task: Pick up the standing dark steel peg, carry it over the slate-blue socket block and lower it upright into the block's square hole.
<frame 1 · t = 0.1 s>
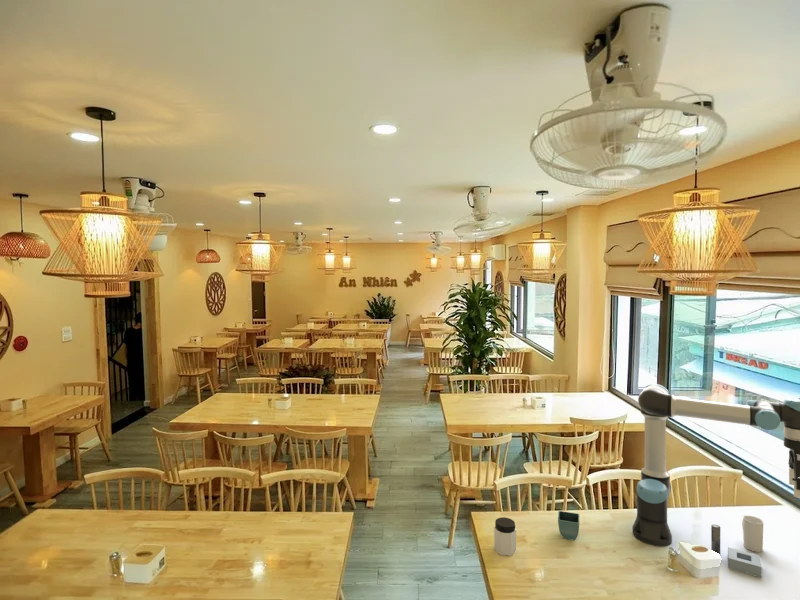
hand: (796, 491, 176), 28 cm above the table, fingers open, 13 cm apart
socket block: (744, 566, 173), on the table
jar: (505, 550, 185), on the table
beige oval cylinder: (750, 546, 187), on the table
peg: (715, 555, 180), on the table
flower pot: (568, 537, 195), on the table
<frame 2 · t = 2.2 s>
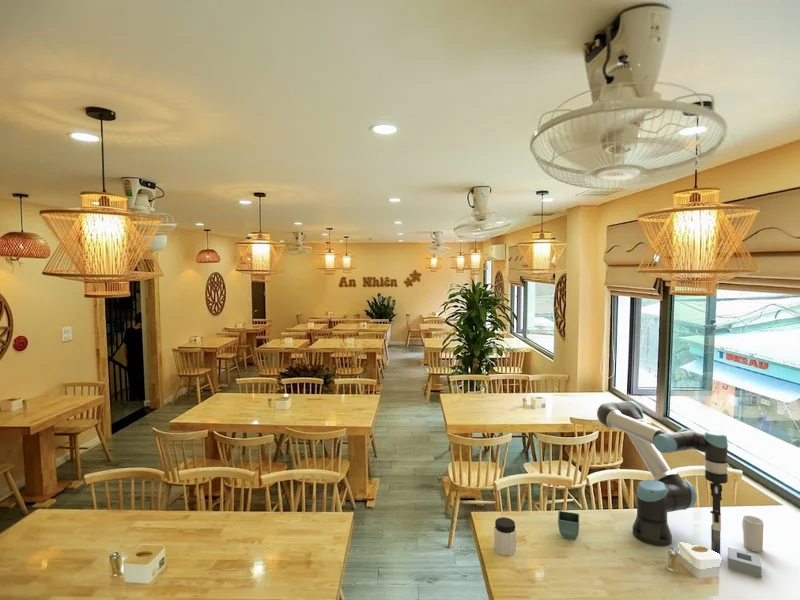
hand: (716, 522, 180), 14 cm above the table, fingers open, 13 cm apart
nothing on the table moved.
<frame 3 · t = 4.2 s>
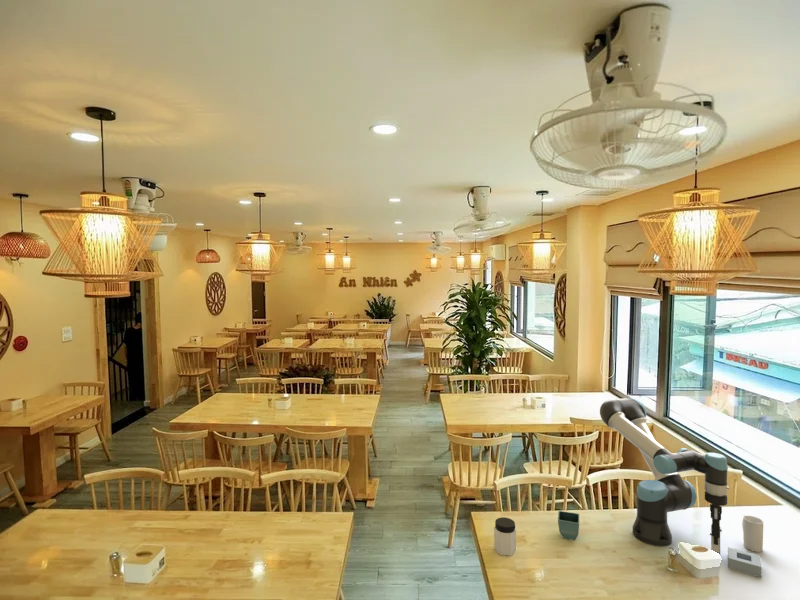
hand: (715, 549, 180), 3 cm above the table, fingers closed on peg, 3 cm apart
peg: (715, 555, 180), on the table, touching gripper
everything else where it was.
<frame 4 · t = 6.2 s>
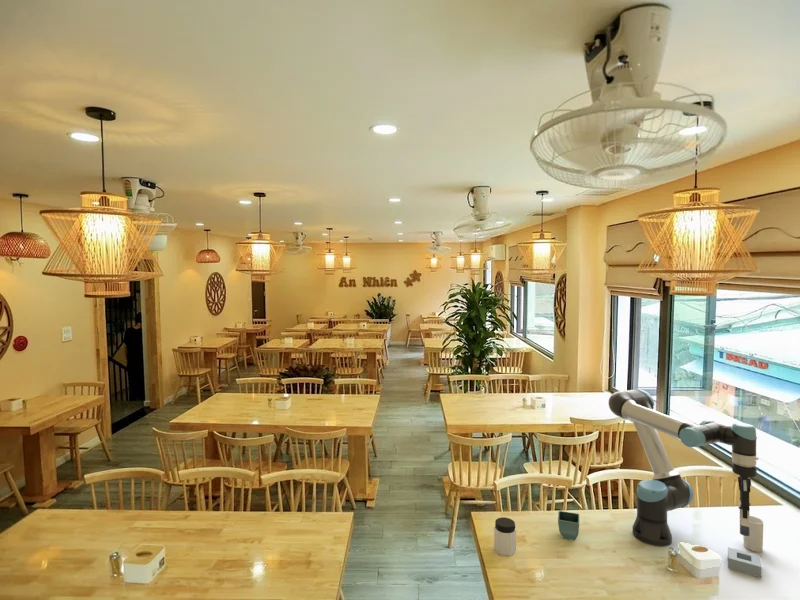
hand: (744, 523, 172), 17 cm above the table, fingers closed on peg, 3 cm apart
peg: (744, 534, 172), point 13 cm above the table, touching gripper
everything else where it was.
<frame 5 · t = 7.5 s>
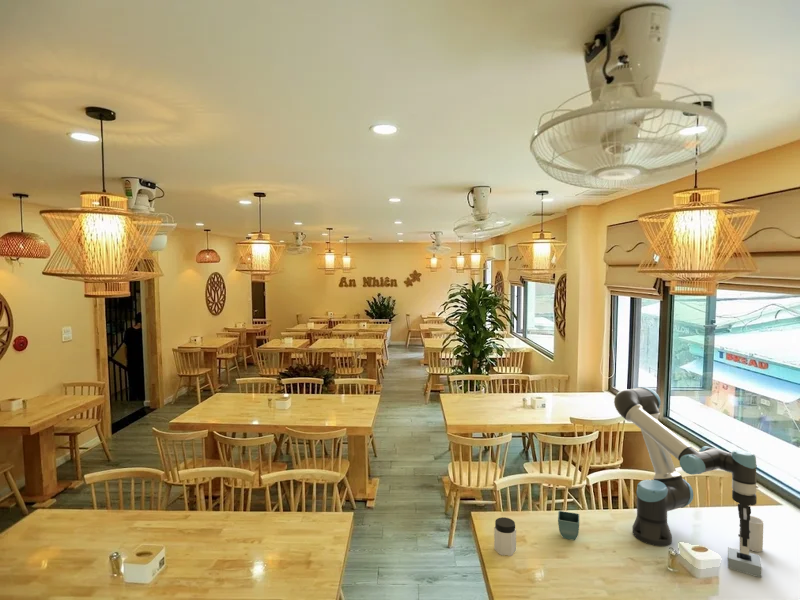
hand: (744, 551, 172), 6 cm above the table, fingers closed on peg, 3 cm apart
peg: (744, 561, 172), point 2 cm above the table, touching gripper
everything else where it was.
when the fingers open (5 cm above the table, at t = 8.5 s): peg drops 1 cm, resting in socket block.
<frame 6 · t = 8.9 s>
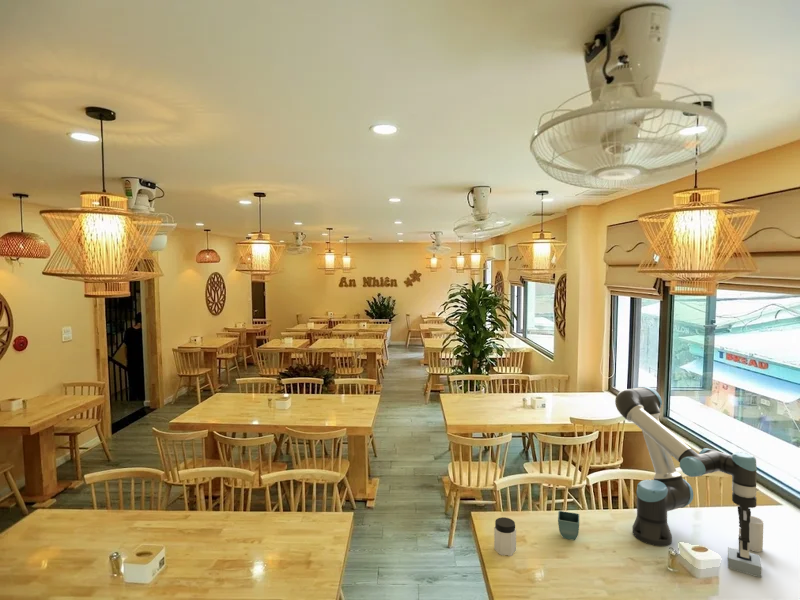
hand: (744, 551, 173), 6 cm above the table, fingers open, 9 cm apart
peg: (743, 566, 173), resting in socket block
everything else where it was.
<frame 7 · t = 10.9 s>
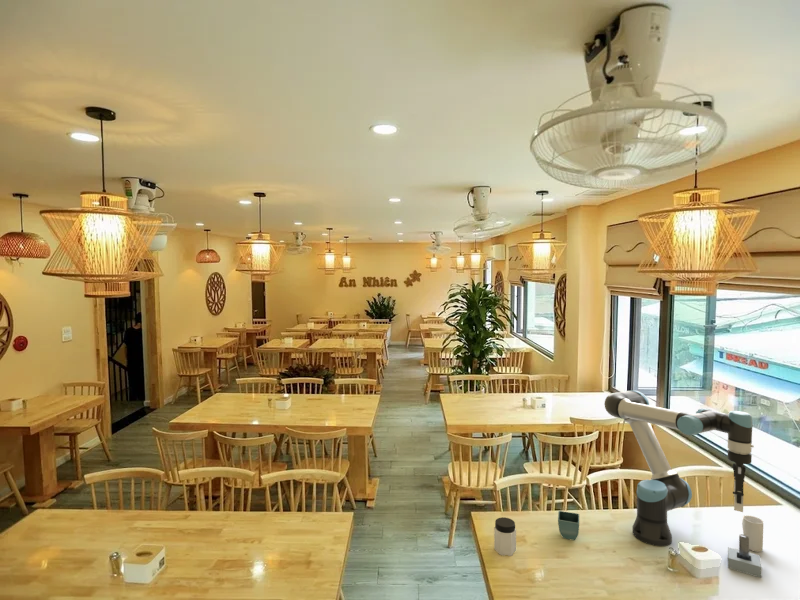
hand: (738, 503, 175), 24 cm above the table, fingers open, 13 cm apart
nothing on the table moved.
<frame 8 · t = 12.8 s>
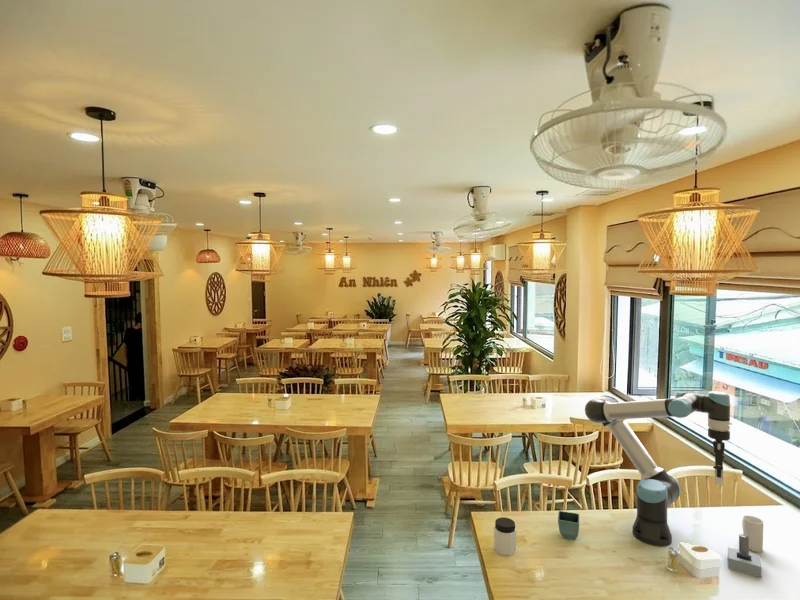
hand: (718, 478, 187), 29 cm above the table, fingers open, 13 cm apart
nothing on the table moved.
at the end: peg 0.1 cm off-centre on the socket block, point 0.0 cm above the socket block's base; peg tilted 0°; the gripper is holding nothing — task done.
